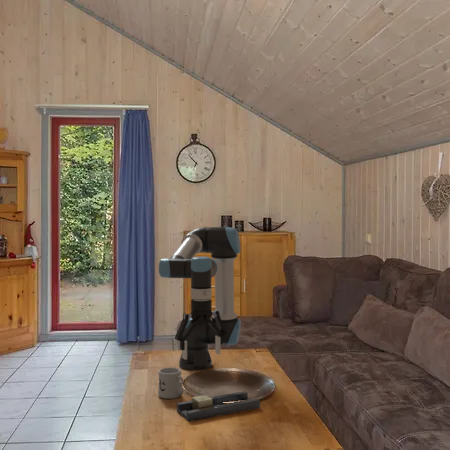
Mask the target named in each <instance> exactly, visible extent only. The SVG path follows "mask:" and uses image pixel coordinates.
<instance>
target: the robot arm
mask: <svg viewBox="0 0 450 450" xmlns="http://www.w3.org/2000/svg"><path fill="white" fill-rule="evenodd" d="M200 253H202V254H205V253H206V254H211V255H210V257H209V256H196V255H198V254H200ZM240 253H241V238H240V234H239V231H238V229H237V228H235V227H228V226H210V227H209V226H203V227H197V228H195V229H193V230H191V231H190V232H188V233H186V234H185V235H184V236H183V237H182V239H181V243H180V244H179V246H178V247H177V249H176V250H175V251H174V253H172V255H171V256H170V258H169V257H165V258H161V259H160V260H159V262H158V274H159V277H161V278H167V279H190V282H191V283H190V298H191V301H190V310H191V312H190V313H185V312H184V313H182V320H181V322H180V324H179V327H178V329H177V330H176V331H177V332H176V334H175V337H174V340H177V341H178V342H179V349H180V351H181V354H180V357H179V361H178V366H179V368H181V369H184V370H189V371H202V370H207V369H210V368H211V367H212V365H213V362H212V356H211V355H210V354H211V353H210V351H209V345H214V346H215V354H217V355H221V345H222V346H223V345H224V346H235V345H236V344H237V343H238V342H239V338H240V334H241V327H242V320H241V319H239V318H238V314H237V313H236V312H235V280H234V278H235V273H234V271H235V269H234V267H235V266H234V264H235V260H236V259H237V258H238V254H240ZM213 277H214V300H215V301H214V302H215V303H214V305H215V308H214V310H212V309H213V308H212V304H213V303H212V302H213V301H212V297H213V296H212V278H213Z"/></svg>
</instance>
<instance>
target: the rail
mask: <svg viewBox="0 0 450 450" xmlns="http://www.w3.org/2000/svg"><path fill="white" fill-rule="evenodd" d="M248 394H249V393H248V391H245V390H244V391H238V392H232V393H227V394H222V395H221V394H220V395H216V396H215V395H214V396H210V398H211V399H212V407H207V408H201V409H196V410H192V399H191V400H187V401H181V402H176V412H177V413H178V414H179V415H181V416H182V417H183V418H184V419H185V420H186V421H188V422H195V421H199V420H200V421H201V420H206V419H209V418H215V417H221V416H225V415H230V414H236V413H237V414H238V413H240V412H245V411H253V410H256V409H260V408H261V399H259V398H258V397H256V398H250V397H249V395H248ZM238 400H245V401H240V402H234V403H229V404H224V403H223V402H229V401H238Z"/></svg>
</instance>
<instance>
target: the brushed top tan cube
mask: <svg viewBox="0 0 450 450" xmlns="http://www.w3.org/2000/svg"><path fill="white" fill-rule="evenodd" d="M210 397H211V396H210ZM210 397H209V395H207V394H201V395H196V396H192V397H191V400H192V410H196V409H201V408H207V407H212V399H211V398H210Z"/></svg>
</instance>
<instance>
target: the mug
mask: <svg viewBox="0 0 450 450" xmlns="http://www.w3.org/2000/svg"><path fill="white" fill-rule="evenodd" d="M183 385H184V378H183V377H182V370H181V369H180V367H179V368H178V367H174V366H173V367H171V366H169V367H163V368H159V369H158V390H157V395H158V397H159V398H161V399H164V400H166V399H167V400H174V399H177V398H179V397H180V396H183V393H184V388H183Z"/></svg>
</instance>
